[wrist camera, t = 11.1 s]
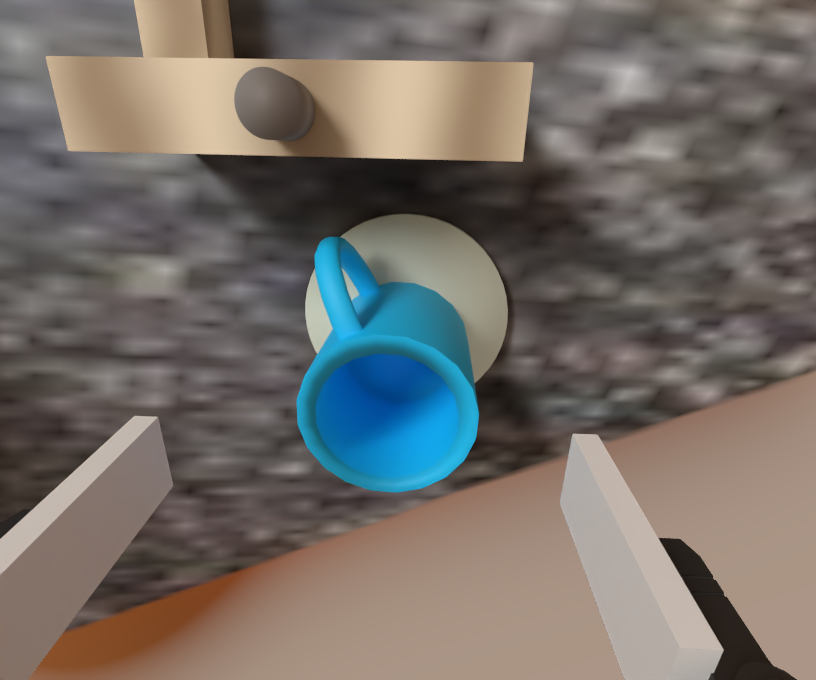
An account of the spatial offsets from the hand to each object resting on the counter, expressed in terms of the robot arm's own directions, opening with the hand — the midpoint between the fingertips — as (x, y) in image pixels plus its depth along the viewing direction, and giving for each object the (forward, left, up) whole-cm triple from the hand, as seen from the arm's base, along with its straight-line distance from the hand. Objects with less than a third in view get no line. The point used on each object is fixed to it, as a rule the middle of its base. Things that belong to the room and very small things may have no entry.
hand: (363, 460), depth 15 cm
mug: (-1, 0, -14) cm, 14 cm away
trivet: (0, 0, -14) cm, 14 cm away
